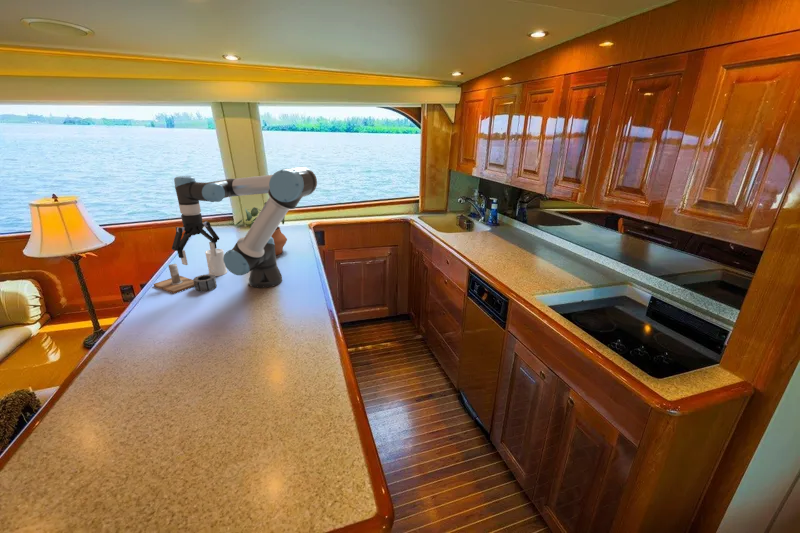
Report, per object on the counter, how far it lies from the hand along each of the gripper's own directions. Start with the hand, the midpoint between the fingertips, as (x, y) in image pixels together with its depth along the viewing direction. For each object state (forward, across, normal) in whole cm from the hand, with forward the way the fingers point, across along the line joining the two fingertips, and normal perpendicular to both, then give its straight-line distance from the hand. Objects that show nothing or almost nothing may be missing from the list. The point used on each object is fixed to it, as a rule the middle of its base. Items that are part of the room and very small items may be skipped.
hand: (200, 260), depth 151 cm
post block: (+14, +5, -14) cm, 20 cm away
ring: (+14, 0, 0) cm, 14 cm away
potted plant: (+14, -49, -17) cm, 54 cm away
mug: (+14, -13, -11) cm, 22 cm away
